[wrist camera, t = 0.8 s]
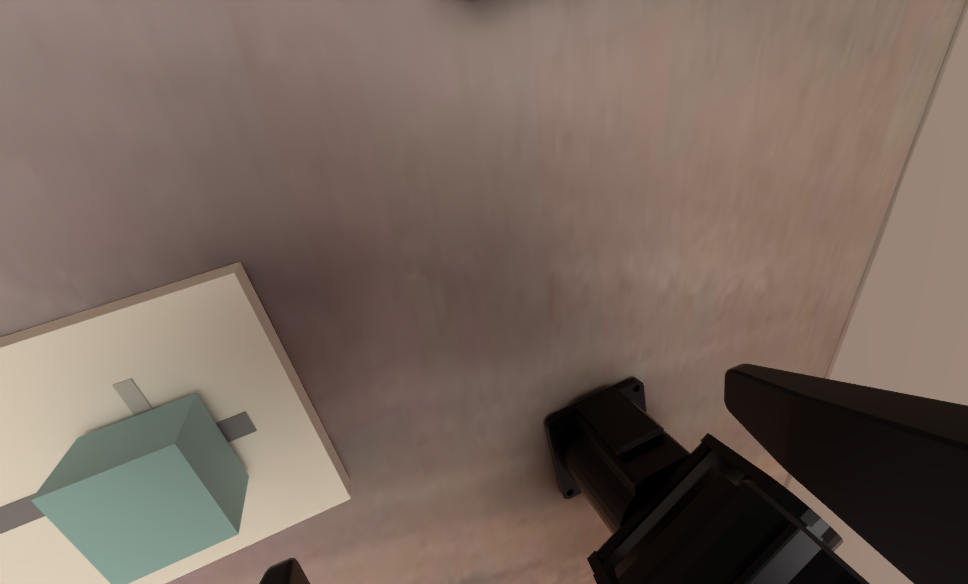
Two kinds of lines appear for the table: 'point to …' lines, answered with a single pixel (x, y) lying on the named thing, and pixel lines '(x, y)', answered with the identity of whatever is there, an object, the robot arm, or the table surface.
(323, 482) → the fader panel
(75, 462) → the fader tab
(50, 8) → the table surface
